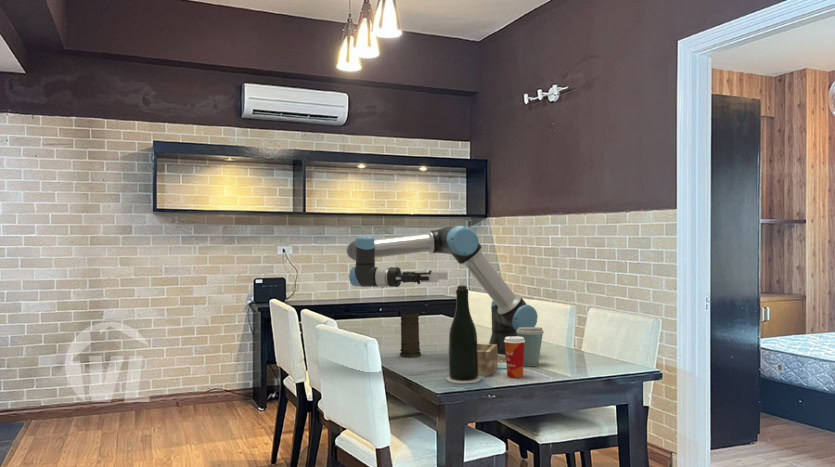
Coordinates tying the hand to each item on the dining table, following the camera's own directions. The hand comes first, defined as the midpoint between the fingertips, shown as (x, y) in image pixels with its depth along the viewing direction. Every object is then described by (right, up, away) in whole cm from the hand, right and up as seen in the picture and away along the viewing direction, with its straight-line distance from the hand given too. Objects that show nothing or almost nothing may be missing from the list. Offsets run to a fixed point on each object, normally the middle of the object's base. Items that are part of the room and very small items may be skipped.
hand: (443, 277), depth 239 cm
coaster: (+7, -36, -11) cm, 38 cm away
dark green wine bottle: (+7, -35, -10) cm, 38 cm away
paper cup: (+26, -36, -6) cm, 45 cm away
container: (-13, -36, +36) cm, 53 cm away
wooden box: (+11, -36, +4) cm, 38 cm away
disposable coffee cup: (+35, -36, +13) cm, 52 cm away
